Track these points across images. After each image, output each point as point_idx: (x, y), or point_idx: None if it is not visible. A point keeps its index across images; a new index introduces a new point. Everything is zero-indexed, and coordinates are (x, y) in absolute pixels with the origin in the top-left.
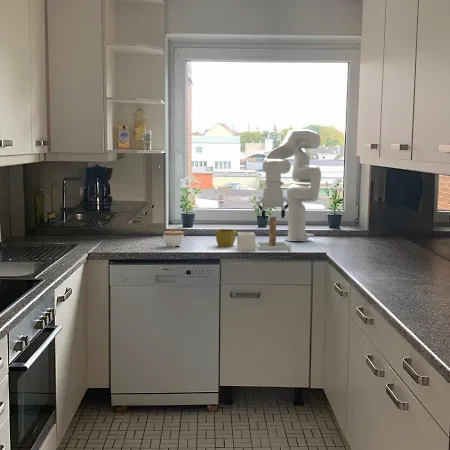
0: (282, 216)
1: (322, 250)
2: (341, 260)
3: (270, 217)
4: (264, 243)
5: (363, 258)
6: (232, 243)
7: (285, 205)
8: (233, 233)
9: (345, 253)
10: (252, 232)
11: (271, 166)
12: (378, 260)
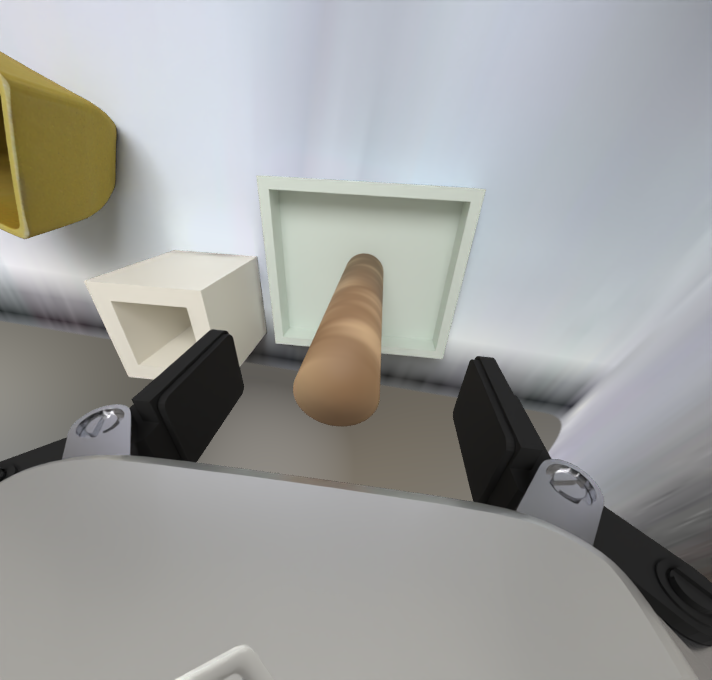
0: (456, 431)
1: (623, 339)
2: None
3: (303, 408)
4: (326, 192)
5: (629, 500)
6: (105, 156)
7: (650, 605)
8: (40, 176)
9: (660, 422)
10: (198, 304)
11: None
12: (644, 527)
